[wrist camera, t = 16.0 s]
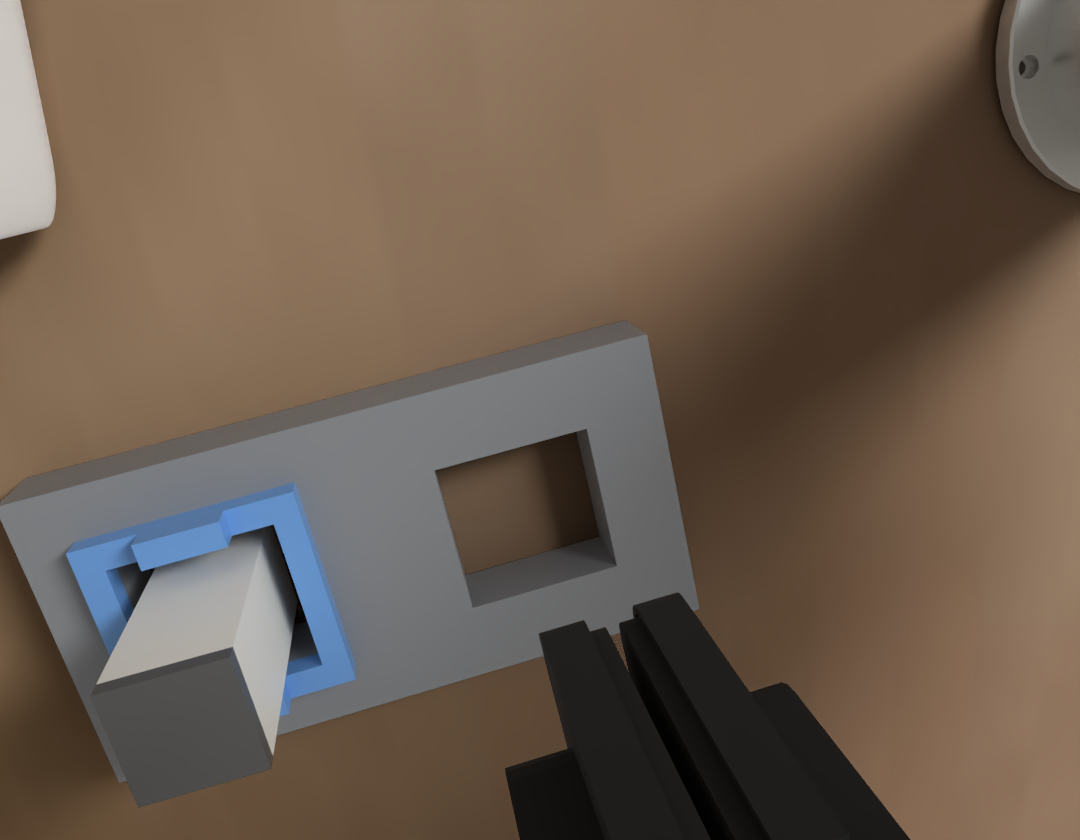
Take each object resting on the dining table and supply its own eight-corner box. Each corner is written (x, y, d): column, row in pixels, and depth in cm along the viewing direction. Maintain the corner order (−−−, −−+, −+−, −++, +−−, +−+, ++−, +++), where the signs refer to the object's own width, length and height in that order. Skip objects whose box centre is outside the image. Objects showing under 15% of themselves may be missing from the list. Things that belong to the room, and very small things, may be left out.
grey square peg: (268, 514, 37) (229, 657, 27) (297, 600, 38) (271, 768, 28) (169, 540, 37) (90, 696, 26) (201, 627, 38) (138, 807, 28)
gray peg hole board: (625, 319, 37) (662, 344, 33) (677, 577, 41) (716, 633, 36) (25, 478, 35) (-29, 529, 30) (137, 736, 39) (105, 818, 34)
